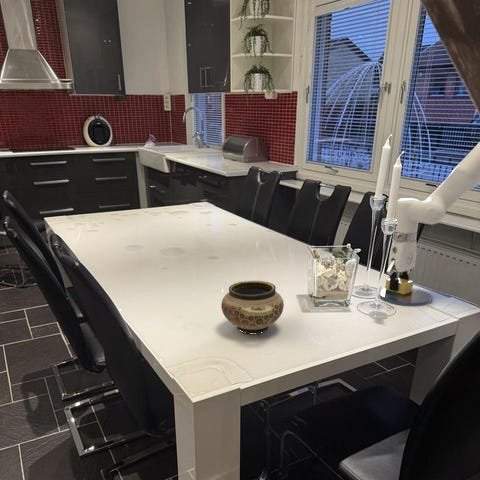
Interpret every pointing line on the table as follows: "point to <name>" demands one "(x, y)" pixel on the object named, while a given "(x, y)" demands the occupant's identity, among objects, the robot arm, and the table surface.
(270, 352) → the table surface
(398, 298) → the plate
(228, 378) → the table surface
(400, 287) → the sponge
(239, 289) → the ceramic bowl
